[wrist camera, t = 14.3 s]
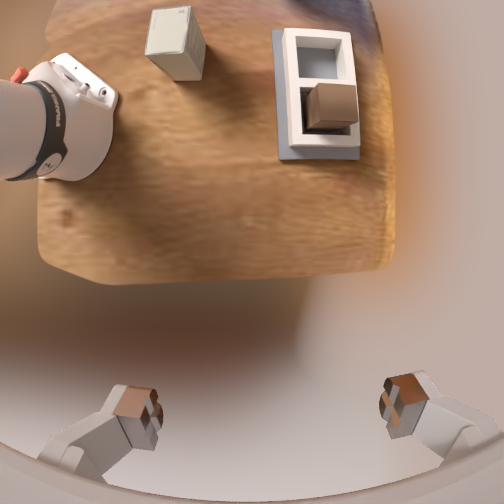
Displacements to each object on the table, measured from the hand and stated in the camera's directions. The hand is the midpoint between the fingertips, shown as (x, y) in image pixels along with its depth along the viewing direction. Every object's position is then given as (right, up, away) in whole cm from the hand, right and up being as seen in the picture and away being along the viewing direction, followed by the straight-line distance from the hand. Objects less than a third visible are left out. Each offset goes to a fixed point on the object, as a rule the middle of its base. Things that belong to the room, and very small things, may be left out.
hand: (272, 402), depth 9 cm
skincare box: (-9, +31, +26) cm, 41 cm away
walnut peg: (+8, +23, +27) cm, 36 cm away
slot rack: (+8, +27, +27) cm, 39 cm away
